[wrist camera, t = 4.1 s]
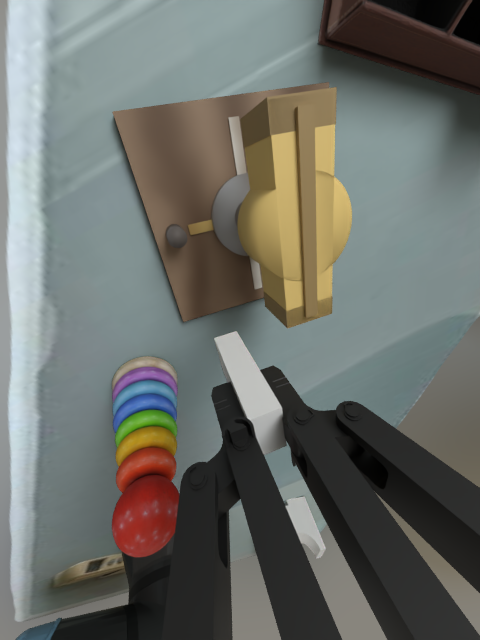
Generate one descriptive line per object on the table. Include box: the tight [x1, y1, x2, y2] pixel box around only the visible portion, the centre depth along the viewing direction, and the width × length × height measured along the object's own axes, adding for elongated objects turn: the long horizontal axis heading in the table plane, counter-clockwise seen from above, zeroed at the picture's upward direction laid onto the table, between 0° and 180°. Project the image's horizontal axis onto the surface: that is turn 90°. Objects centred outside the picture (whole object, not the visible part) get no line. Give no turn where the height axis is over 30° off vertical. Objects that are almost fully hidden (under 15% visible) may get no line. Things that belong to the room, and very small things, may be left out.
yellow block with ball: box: [237, 87, 352, 328], centre depth 18 cm, size 14×7×5 cm, turn 10°
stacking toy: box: [112, 356, 179, 557], centre depth 25 cm, size 8×8×19 cm
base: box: [113, 82, 329, 322], centre depth 24 cm, size 20×20×8 cm
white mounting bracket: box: [285, 497, 326, 558], centre depth 60 cm, size 18×10×10 cm, turn 171°
